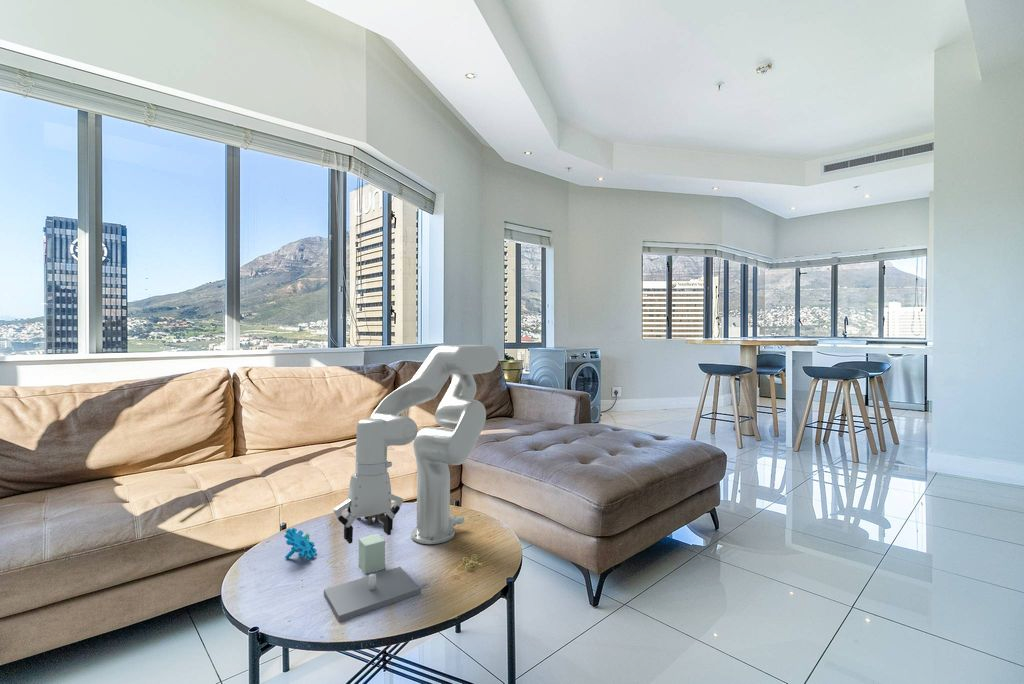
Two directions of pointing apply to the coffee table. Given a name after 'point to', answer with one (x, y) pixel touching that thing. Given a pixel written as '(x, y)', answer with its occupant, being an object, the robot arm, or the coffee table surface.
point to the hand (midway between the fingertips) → (368, 537)
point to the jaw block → (371, 553)
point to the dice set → (471, 562)
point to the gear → (299, 544)
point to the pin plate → (370, 593)
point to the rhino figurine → (377, 518)
